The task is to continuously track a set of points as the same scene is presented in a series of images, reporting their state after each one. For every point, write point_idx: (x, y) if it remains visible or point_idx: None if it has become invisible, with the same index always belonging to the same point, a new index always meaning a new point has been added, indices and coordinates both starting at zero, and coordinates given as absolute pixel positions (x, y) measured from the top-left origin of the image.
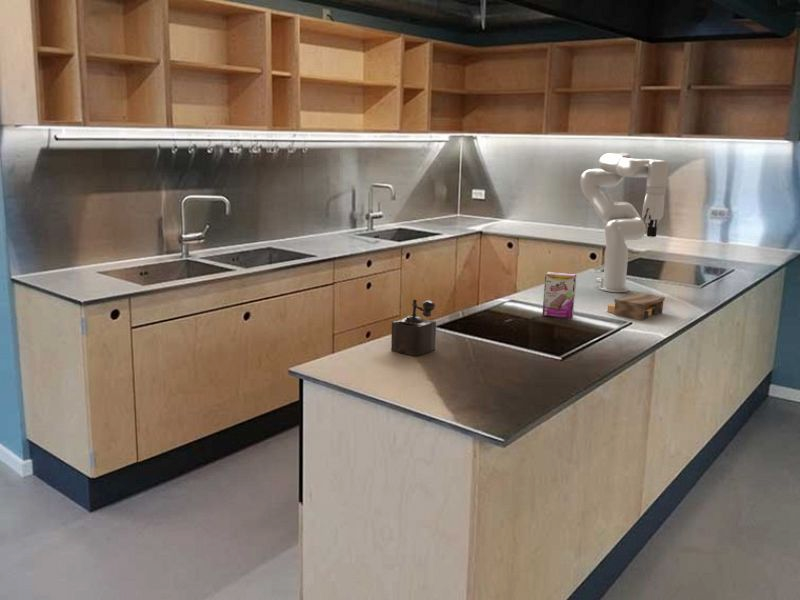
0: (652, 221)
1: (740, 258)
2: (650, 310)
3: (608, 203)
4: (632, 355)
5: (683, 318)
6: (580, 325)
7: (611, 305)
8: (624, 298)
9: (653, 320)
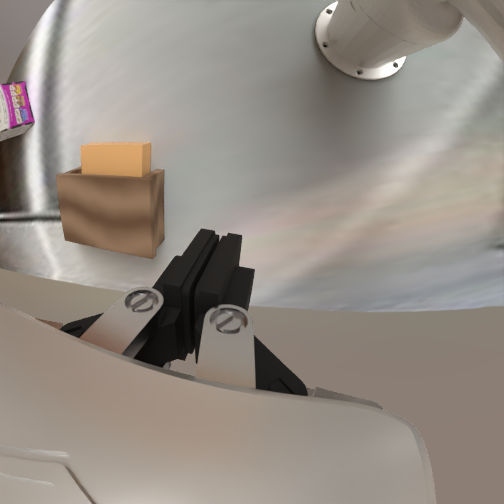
0: (226, 377)
1: None
2: None
3: None
4: (3, 266)
5: None
6: (14, 167)
7: (84, 151)
8: (73, 188)
9: None
